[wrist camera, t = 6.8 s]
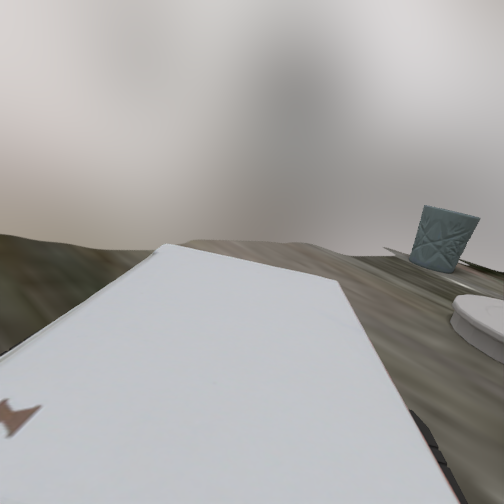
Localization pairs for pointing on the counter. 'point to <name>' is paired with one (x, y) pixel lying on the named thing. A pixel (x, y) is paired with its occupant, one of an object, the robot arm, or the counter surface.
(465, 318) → the lid
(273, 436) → the small box
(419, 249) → the drinking glass
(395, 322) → the counter surface
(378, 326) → the counter surface
